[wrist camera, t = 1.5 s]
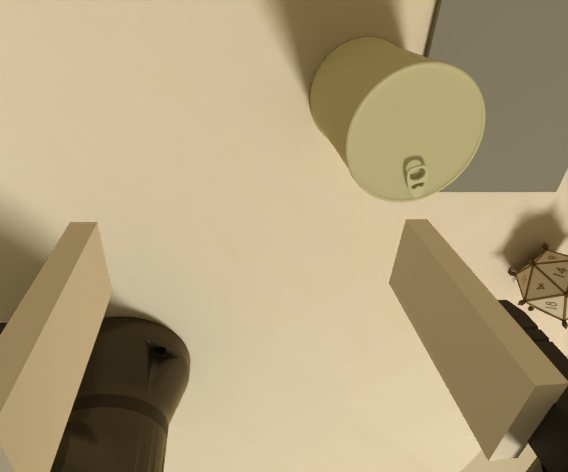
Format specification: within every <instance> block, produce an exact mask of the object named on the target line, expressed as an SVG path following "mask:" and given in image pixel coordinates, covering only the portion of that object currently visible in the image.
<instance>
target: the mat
mask: <svg viewBox="0 0 568 472" xmlns="http://www.w3.org/2000/svg"><path fill="white" fill-rule="evenodd" d="M425 57H427V58H430V59H433V60H436V61H444V62H447V63H451V64H453V65H456V66H458V67H459V68H461V69H462V70H464V71H465V72H466V73H468V74H469V75H470V76H471V77H472V78H473V80H474V81H475V82H476V84H477V85H478V87H479V89H480V91H481V94H482V96H483V100H484V104H485V128H484V132H483V136H482V140H481V142H480V145H479V148H478V150H477V152H476V153H475V155H474V157H473V159H472V160H471V162H470V163H469V165H468V166H467V167H466V169H465V170H464V171H463V172H462V173H461V174H460V175H459V176H458V177H457V178H456V179H455V180H454V181H453V182H452V183H450V184H449V185H448V186H446V187H445V188H444V189H442V190H440V191H439V192H556V191H557V189H558V187H559V185H560V183H561V181H562V179H563V177H564V175H565V172H566V170H567V168H568V0H438V4H437V8H436V12H435V16H434V21H433V25H432V29H431V34H430V38H429V42H428V46H427V51H426V55H425Z"/></svg>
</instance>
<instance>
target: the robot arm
mask: <svg viewBox="0 0 568 472" xmlns="http://www.w3.org/2000/svg"><path fill="white" fill-rule="evenodd" d="M389 284H390V286H391V288H392V289H393V291H394V293H395V295H396V297H397V298H398V300H399V302H400V304H401V305H402V307H403V309H404V311H405V313H406V314H407V316H408V318H409V320H410V322H411V323H412V325H413V327H414V329H415V330H416V332H417V334H418V336H419V338H420V339H421V341H422V343H423V345H424V347H425V348H426V350H427V352H428V354H429V355H430V357H431V359H432V361H433V363H434V364H435V366H436V368H437V370H438V372H439V373H440V375H441V377H442V379H443V380H444V382H445V384H446V386H447V388H448V389H449V391H450V393H451V395H452V397H453V398H454V400H455V402H456V404H457V405H458V407H459V409H460V411H461V413H462V414H463V416H464V418H465V420H466V422H467V423H468V425H469V427H470V429H471V430H472V432H473V434H474V436H475V438H476V439H477V441H478V443H479V445H480V447H481V448H482V450H483V452H484V454H485V455H486V457H487V459H488V461H492V460H502V459H511V458H518V457H519V455H520V454H521V452H522V451H523V449H524V448H525V447H526V445H527V444H528V443H529V445H530V446H531V448H532V449H533V451H534V452H535V454H536V455H537V458H536V459H535V460H534V462H533V463H532V464H531V466H530V467H529V468H528V470H527V471H526V472H568V359H567V358H566V356H565V355H564V354H563V353H562V352H561V351H560V350H559V349H558V348H557V347H556V346H555V345H554V343H553V342H550V341H549V338H548V337H547V336H546V335H545V334H544V333H543V331H542V330H539V329H538V326H537V325H536V324H535V323H534V322H533V321H532V320H531V318H530V317H529V316H528V315H527V314H526V313H525V312H524V311H522V310H521V309H519V308H518V307H516V306H515V305H513V304H512V303H510V302H509V301H507V300H497V299H496V298H495V297H494V296H493V295H492V293H491V292H490V291H489V290H488V289H487V288H486V287H485V285H484V284H483V283H482V282H481V281H480V280H479V279H478V277H477V276H476V275H475V274H474V273H473V272H472V270H471V269H470V268H469V267H468V266H467V265H466V264H465V262H464V261H463V260H462V259H461V258H460V257H459V256H458V254H457V253H456V252H455V251H454V250H453V249H452V247H451V246H450V245H449V244H448V243H447V242H446V241H445V239H444V238H443V237H442V236H441V235H440V234H439V233H438V231H437V230H436V229H435V228H434V227H433V226H432V224H431V223H430V222H429V221H428V220H427V219H409V220H406V221H405V225H404V229H403V232H402V236H401V240H400V244H399V247H398V251H397V255H396V259H395V262H394V266H393V270H392V274H391V277H390V281H389ZM111 294H112V290H111V285H110V280H109V275H108V271H107V266H106V261H105V256H104V251H103V247H102V242H101V237H100V232H99V228H98V223H97V222H70V224H69V225H68V227H67V228H66V230H65V232H64V233H63V235H62V236H61V238H60V240H59V241H58V243H57V245H56V246H55V248H54V249H53V251H52V253H51V254H50V256H49V257H48V259H47V261H46V262H45V264H44V265H43V267H42V269H41V270H40V272H39V273H38V275H37V277H36V278H35V280H34V282H33V283H32V285H31V286H30V288H29V290H28V291H27V293H26V294H25V296H24V298H23V299H22V301H21V302H20V304H19V306H18V307H17V309H16V310H15V312H14V314H13V315H12V317H11V319H10V320H9V322H8V323H0V472H164V462H165V453H166V444H167V435H168V426H169V423H170V421H171V419H172V417H173V415H174V413H175V411H176V409H177V406H178V404H179V402H180V400H181V398H182V396H183V394H184V392H185V389H186V387H187V384H188V381H189V372H190V356H189V352H188V350H187V348H186V346H185V344H184V343H183V342H182V341H181V339H180V338H179V337H177V336H176V335H175V334H174V333H173V332H171V331H170V330H168V329H166V328H164V327H163V326H160V325H158V324H156V323H153V322H150V321H146V320H142V319H136V318H127V317H115V318H105V319H103V317H104V314H105V312H106V309H107V306H108V303H109V300H110V297H111Z"/></svg>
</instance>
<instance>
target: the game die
mask: <svg viewBox="0 0 568 472" xmlns="http://www.w3.org/2000/svg"><path fill="white" fill-rule="evenodd" d="M543 247H544V249H545V251H543V252H542V253H541V254H540V255H538V256H537V257H536V258H535V259H533V260H528V264H527V265H526V266H524V267H523V268H522V269H521V270H519V271H518V272H517V273H514V272H512V271H511V272H508V273H509V274H510V276H511V275H512V276H516V279H517V282H518V285H519V288H520V291H521V294H522V297H523V300H521V301H519V303H518V305H521V306H522V305H523V304H525V303H527V304H529V305H530V307H529V308H528V311H533V309H534V308H536V309H538V310H540V311H542V312H544V313H546V314H549V315H551V316H553V317H555V318H557V319H559V320H561V321H562V326H563V327H564V328H565V329H567V326H568V325H567V322H566V320H567V319H568V255H564V254H561V253H557V252H554V251H550V250H548V248H549V247H548V245H547V244H545V243H544V245H543Z"/></svg>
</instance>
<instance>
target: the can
mask: <svg viewBox="0 0 568 472" xmlns="http://www.w3.org/2000/svg"><path fill="white" fill-rule="evenodd" d="M310 108H311V113H312V116H313V119H314V121H315V124H316V125H317V127H318V129H319V130H320V131H321V132H322V133H323V135H324V136H325V137H327V138H328V139H329V141H330V142H331V143H332V145H333V146H334V148H335V149H336V151H337V152H338V154H339V155H340V157H341V158H342V159H343V161H344V162H345V164H346V165H347V167H348V169H349V171H350V173H351V175H352V177H353V178H354V180H355V181H356V183H357V184H358V185H359V186H360V187H361V188H362V189H363V190H364V191H365V192H367V193H368V194H370V195H372V196H373V197H376V198H378V199H381V200H384V201H388V202H400V203H401V202H411V201H416V200H420V199H423V198H426V197H428V196H431V195H433V194H435V193H437V192H439V191H440V190H442V189H444V188H445V187H446V186H448V185H449V184H450V183H452V182H453V181H454V180H455V179H456V178H457V177H458V176H459V175H460V174H461V173H462V172H463V171H464V170H465V169H466V167H467V166H468V165H469V163H470V162H471V160H472V159H473V157H474V155H475V153H476V152H477V150H478V148H479V145H480V142H481V140H482V136H483V132H484V128H485V104H484V100H483V96H482V94H481V91H480V89H479V87H478V85H477V84H476V82H475V81H474V80H473V78H472V77H471V76H470V75H469V74H468V73H466V72H465V71H464V70H462V69H461V68H459V67H458V66H456V65H453V64H451V63H447V62H444V61H436V60H433V59H430V58H427V57H424V56H421V55H418V54H415V53H412V52H410V51H407V50H404V49H401V48H399V47H397V46H396V45H394V44H393V43H391V42H389V41H387V40H384V39H381V38H377V37H361V38H356V39H353V40H350V41H348V42H346V43H344V44H342V45H340V46H339V47H337V48H336V49H335V50H333V51H332V52H331V53H330V54H329V55H328V56H327V57H326V58H325V59H324V61H323V62H322V64H321V65H320V66H319V68H318V70H317V72H316V74H315V76H314V79H313V82H312V86H311V91H310Z"/></svg>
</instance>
